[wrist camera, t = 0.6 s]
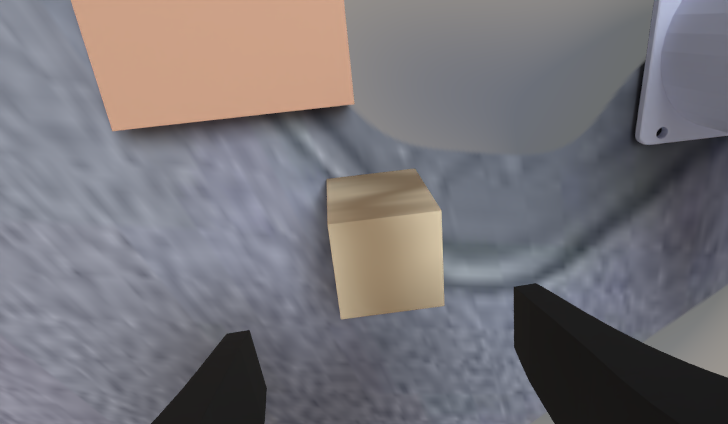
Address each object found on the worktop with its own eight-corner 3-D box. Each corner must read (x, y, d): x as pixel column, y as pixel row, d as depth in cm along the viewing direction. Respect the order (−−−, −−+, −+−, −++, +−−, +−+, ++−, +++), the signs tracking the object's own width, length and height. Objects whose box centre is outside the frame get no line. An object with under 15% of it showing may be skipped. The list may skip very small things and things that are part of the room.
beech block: (414, 168, 20) (441, 210, 16) (419, 246, 22) (444, 305, 17) (326, 178, 20) (327, 224, 16) (337, 256, 22) (340, 319, 17)
